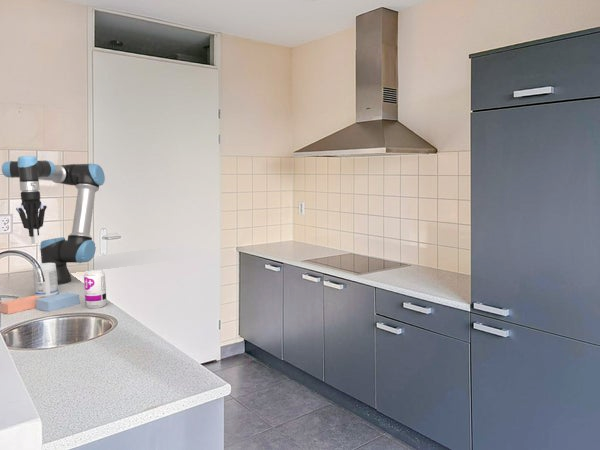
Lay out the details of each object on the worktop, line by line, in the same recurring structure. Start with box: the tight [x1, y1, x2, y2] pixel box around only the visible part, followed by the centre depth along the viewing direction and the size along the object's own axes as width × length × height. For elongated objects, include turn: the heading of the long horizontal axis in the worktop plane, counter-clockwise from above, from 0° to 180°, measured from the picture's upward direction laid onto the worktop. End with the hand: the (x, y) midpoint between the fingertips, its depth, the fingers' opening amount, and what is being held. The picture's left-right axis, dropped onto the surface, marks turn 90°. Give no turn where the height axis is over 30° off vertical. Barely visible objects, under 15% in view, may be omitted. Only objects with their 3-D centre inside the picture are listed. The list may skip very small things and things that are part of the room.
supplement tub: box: [32, 262, 59, 298], centre depth 225 cm, size 10×10×15 cm
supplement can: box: [83, 269, 108, 309], centre depth 204 cm, size 8×8×15 cm
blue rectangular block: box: [35, 291, 81, 313], centre depth 206 cm, size 14×10×4 cm
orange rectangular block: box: [0, 294, 43, 315], centre depth 202 cm, size 14×6×4 cm, turn 148°
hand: (35, 243), depth 217 cm, fingers closed
